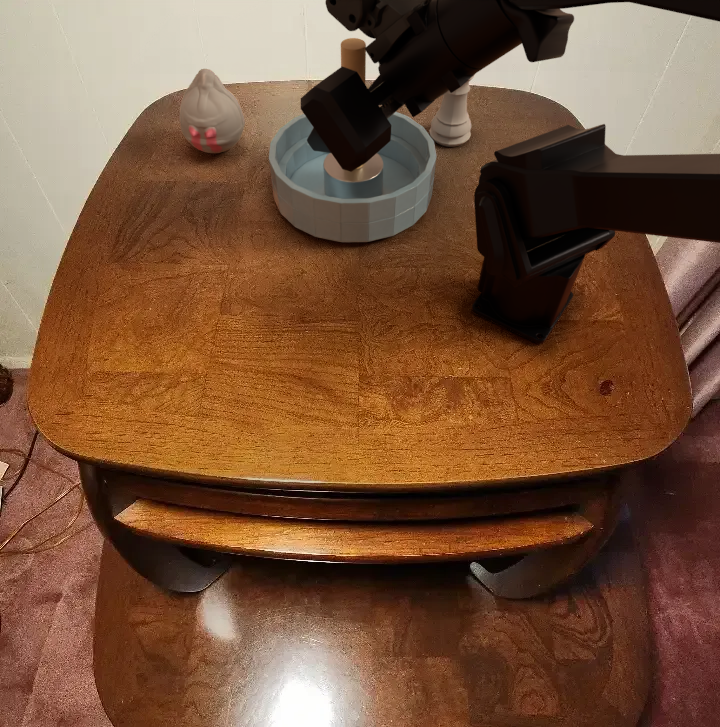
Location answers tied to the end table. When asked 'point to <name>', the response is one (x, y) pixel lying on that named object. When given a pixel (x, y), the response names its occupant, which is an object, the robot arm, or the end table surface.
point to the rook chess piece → (452, 118)
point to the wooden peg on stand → (370, 174)
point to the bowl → (353, 216)
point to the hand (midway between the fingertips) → (339, 122)
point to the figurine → (210, 114)
